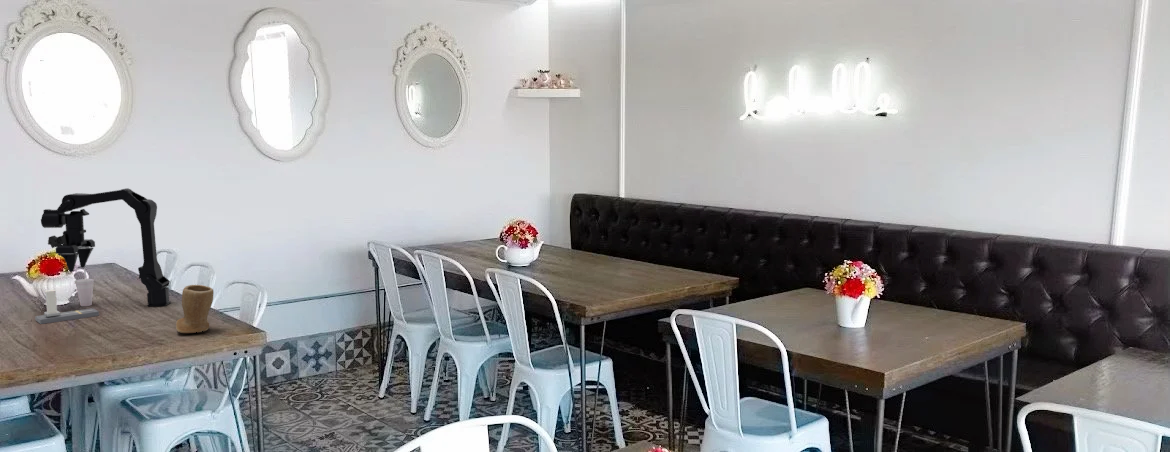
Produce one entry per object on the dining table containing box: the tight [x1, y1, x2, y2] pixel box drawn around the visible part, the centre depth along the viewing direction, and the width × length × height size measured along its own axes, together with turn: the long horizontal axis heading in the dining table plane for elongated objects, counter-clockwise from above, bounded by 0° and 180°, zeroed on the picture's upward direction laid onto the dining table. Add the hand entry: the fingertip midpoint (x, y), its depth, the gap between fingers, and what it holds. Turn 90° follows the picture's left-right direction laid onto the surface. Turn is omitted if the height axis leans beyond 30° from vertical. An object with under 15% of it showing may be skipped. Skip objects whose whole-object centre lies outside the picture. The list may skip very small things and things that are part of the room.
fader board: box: [34, 307, 100, 325], centre depth 303 cm, size 18×8×2 cm, turn 133°
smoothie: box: [74, 268, 95, 307], centre depth 324 cm, size 6×6×14 cm
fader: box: [43, 289, 62, 317], centre depth 299 cm, size 4×5×9 cm
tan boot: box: [175, 284, 215, 334], centre depth 281 cm, size 15×12×15 cm
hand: (77, 269), depth 318 cm, fingers open, 9 cm apart
